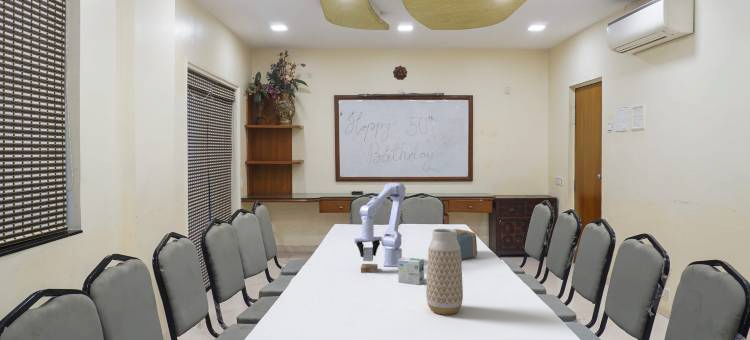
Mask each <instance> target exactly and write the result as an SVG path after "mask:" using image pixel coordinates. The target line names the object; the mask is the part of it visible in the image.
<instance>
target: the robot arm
mask: <svg viewBox="0 0 750 340" xmlns="http://www.w3.org/2000/svg"><path fill="white" fill-rule="evenodd" d="M404 184H405V183H402V182H400V183H399V182H390V181H389V182H386V183H385V184H384V186H383V188H382V189H383V190H382V191H380V193H379V194H378V195H377V196H372V197H371V199H370V200H369V201H368V202H367V203H366V204H364V205H362V206H360V209H359V215H360V219H361V231H362V233H361V236H362V237H357V238H353V243H354V244H355V245H356V246H357V248H358V250H359V251H358V252H359V255H360V257H361V258H363V249H364V247H365V246H364V245H365V244H363V243H369V242H371V243H372V247H373V257H376V256H377V252H378V249H379V246H380V245H382V246H383V249H384V262H383V266H384V267H398V260H399V259H401V258H403V253H402V250H403V249H402V248H401V246H402V233H400V232H399V226H400V220H401V213H402V210H403V202H404V199H405V195H406V186H405V185H404ZM388 197H389V198H390V199H391V201H392V204H391V212H390V216H389V223H388V228H387V229H386V230H385V231H384V232H383V235H382V236H374V234H375V233H374V232H375V230H374V228H375V226H374V217H375V216H376V214H377V211H378V210H379V209H380V208H381V207H382V205H383V202H384V200H386V199H387V198H388Z"/></svg>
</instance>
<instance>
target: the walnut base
mask: <svg viewBox="0 0 750 340" xmlns="http://www.w3.org/2000/svg"><path fill="white" fill-rule="evenodd" d="M360 273H361V274H377V273H378V263H362V264H361V266H360Z"/></svg>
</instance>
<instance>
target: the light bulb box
mask: <svg viewBox="0 0 750 340" xmlns="http://www.w3.org/2000/svg"><path fill="white" fill-rule="evenodd" d="M424 260H425V259H424V258H415V257H406V256H402V258H401V259H399V260H398V266H397V268H398V272H397V273H398V274H397V275H398V280H397V281H398V283H403V284H411V285H417V286H418V285H421V284H422V283H424V282H425V261H424Z"/></svg>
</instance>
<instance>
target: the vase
mask: <svg viewBox="0 0 750 340" xmlns="http://www.w3.org/2000/svg"><path fill="white" fill-rule="evenodd" d="M427 254H428V255H427V269H426V271H427V272H426V273H427V274H426V292H425V293H426V302H427V305H428V308H429V309H430V310H431V312H433V313H434V314H437V315H442V316H443V315H444V316H445V315H449V316H451V315H454V314H456V313H458V312H459V311H460V309H461V307H462V304H463V300H464V299H463V298H464V297H463V296H464V288H463V287H464V286H463V270H462V269H463V267H462V265H463V264H462V260H461V249H460V245H459V243H458V241H457V231H456V230H453V228H452V229H451V228H435V229H433V230H432V238H431V241H430V243H429V245H428V252H427Z"/></svg>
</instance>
